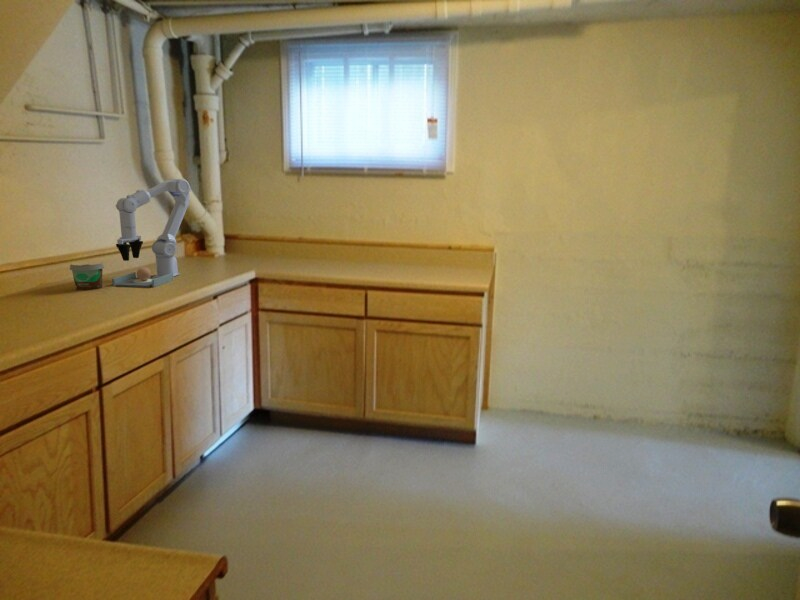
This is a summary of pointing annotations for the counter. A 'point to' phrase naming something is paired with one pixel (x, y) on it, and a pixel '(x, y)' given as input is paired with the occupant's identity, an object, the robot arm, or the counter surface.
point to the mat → (137, 283)
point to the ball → (143, 274)
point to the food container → (87, 276)
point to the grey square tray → (132, 275)
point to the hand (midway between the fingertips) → (131, 259)
